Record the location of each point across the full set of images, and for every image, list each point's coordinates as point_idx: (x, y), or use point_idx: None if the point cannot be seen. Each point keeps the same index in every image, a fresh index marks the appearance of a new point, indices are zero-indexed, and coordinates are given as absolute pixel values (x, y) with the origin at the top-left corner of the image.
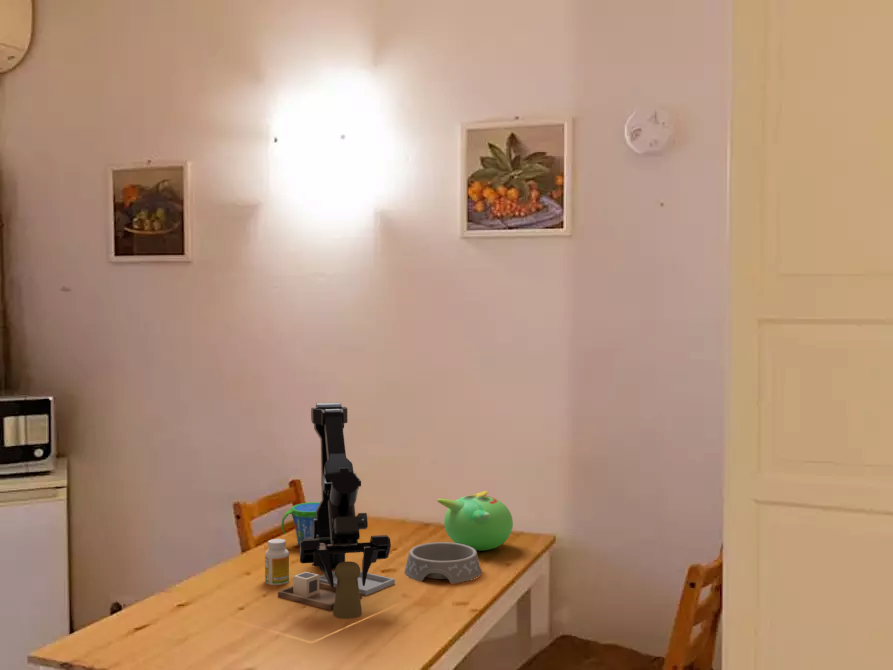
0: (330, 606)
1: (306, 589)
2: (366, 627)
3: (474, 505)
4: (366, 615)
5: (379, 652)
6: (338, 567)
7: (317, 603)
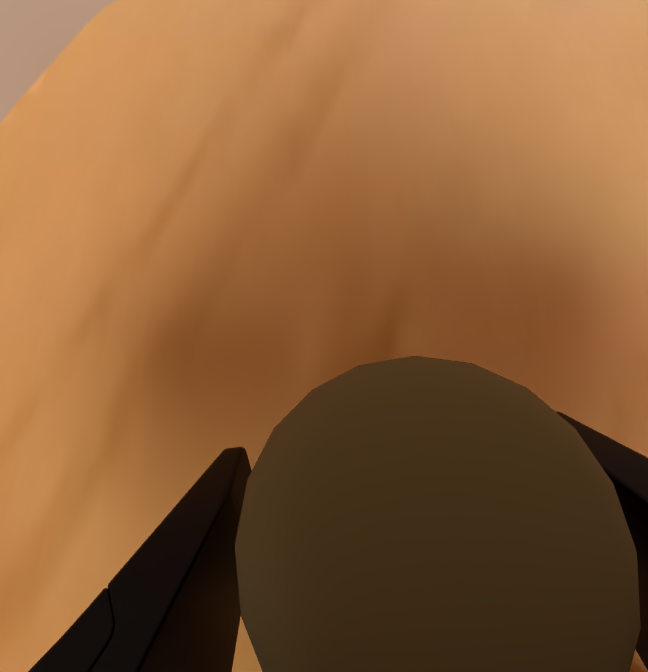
0: None
1: None
2: (281, 303)
3: None
4: None
5: (248, 58)
6: (582, 445)
7: None
